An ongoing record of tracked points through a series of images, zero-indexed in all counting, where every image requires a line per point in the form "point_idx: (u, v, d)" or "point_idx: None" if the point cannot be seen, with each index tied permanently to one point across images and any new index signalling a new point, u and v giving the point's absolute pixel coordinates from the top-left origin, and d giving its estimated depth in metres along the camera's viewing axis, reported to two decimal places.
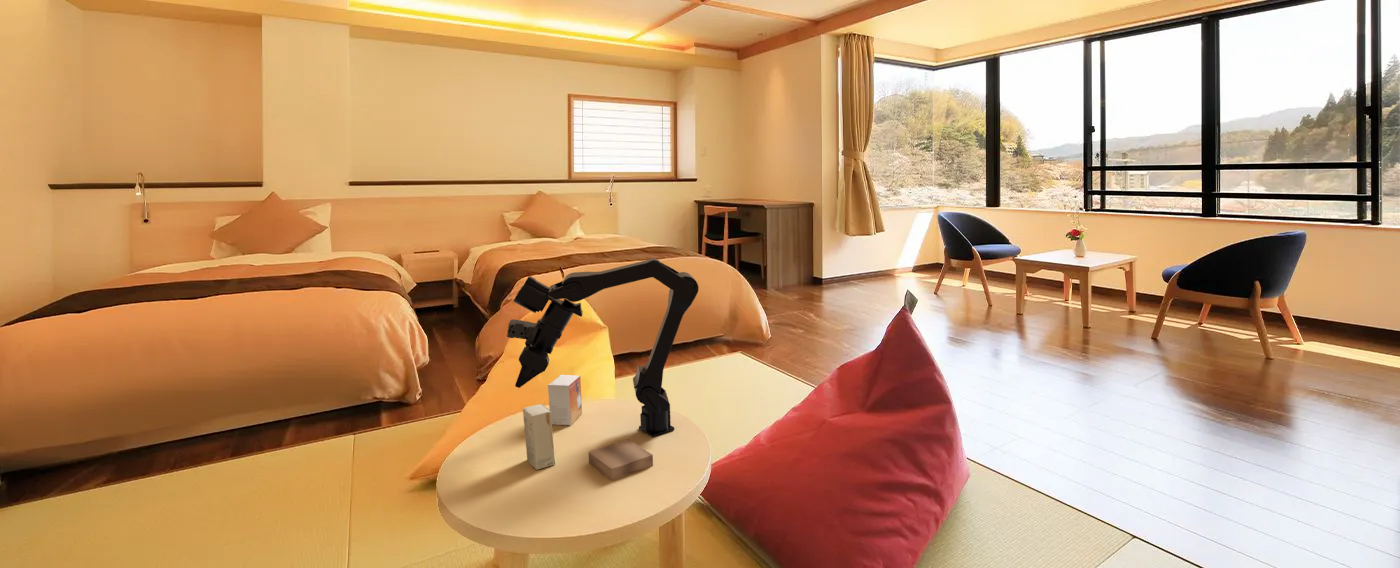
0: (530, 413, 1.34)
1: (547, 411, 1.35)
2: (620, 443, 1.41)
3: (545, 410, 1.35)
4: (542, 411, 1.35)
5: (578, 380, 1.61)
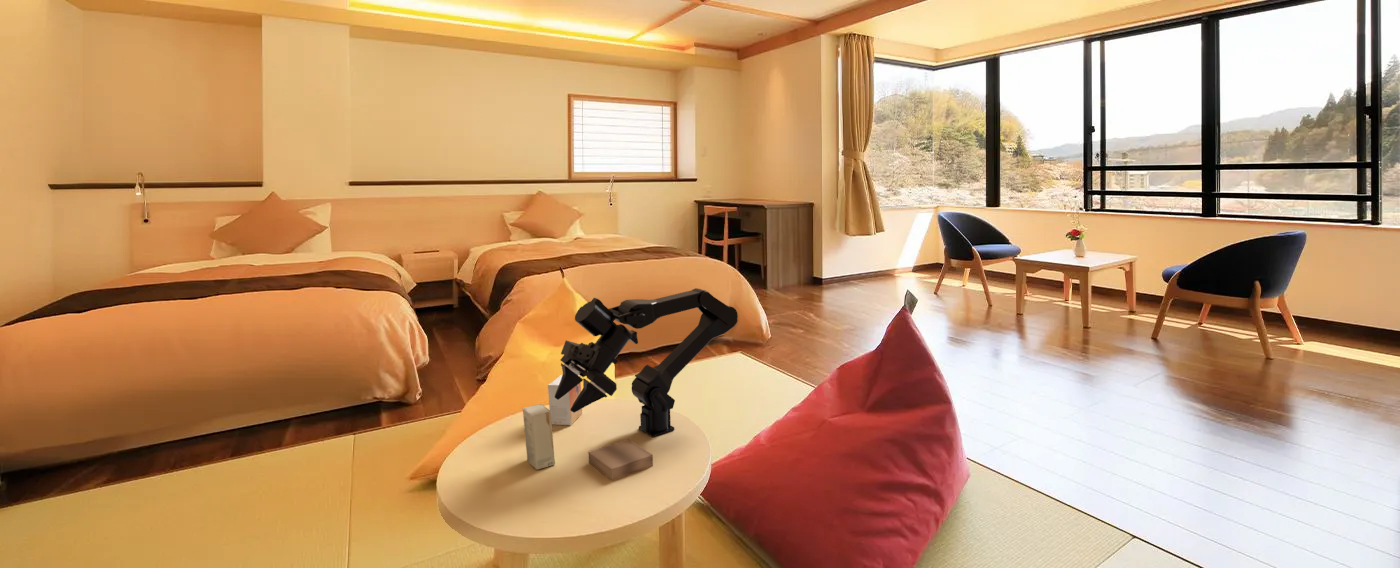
0: (530, 413, 1.34)
1: (547, 411, 1.35)
2: (620, 443, 1.41)
3: (545, 410, 1.35)
4: (542, 411, 1.35)
5: None
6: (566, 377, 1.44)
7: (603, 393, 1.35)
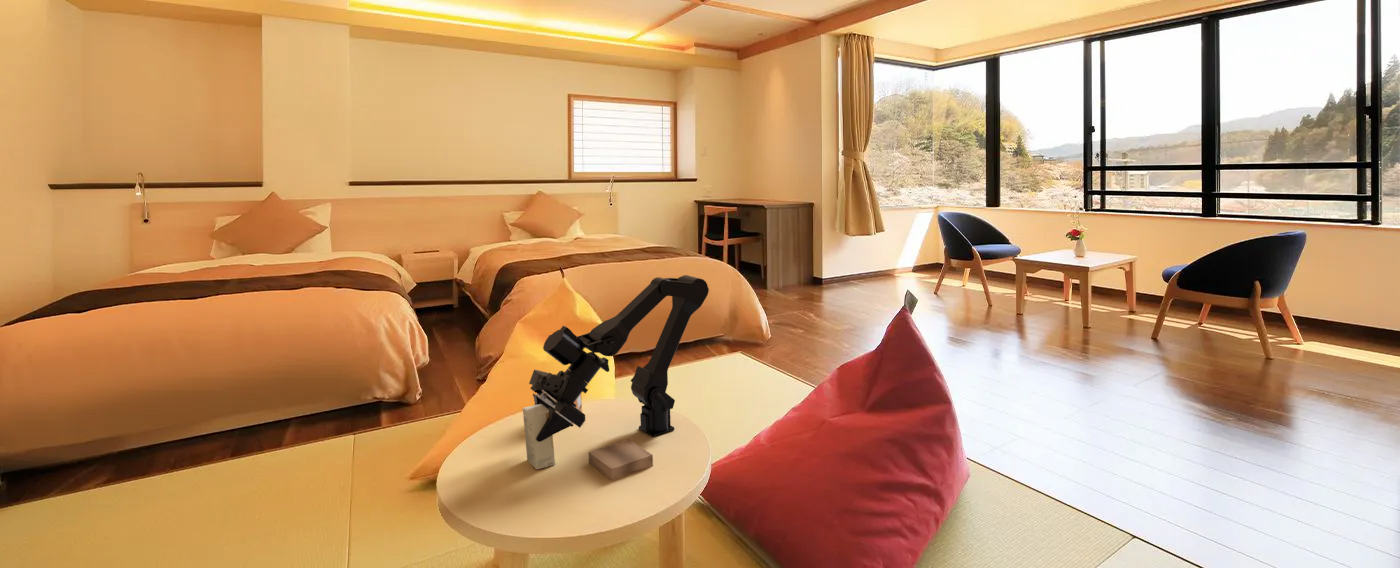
0: (530, 413, 1.34)
1: (547, 411, 1.35)
2: (620, 443, 1.41)
3: (545, 410, 1.35)
4: (542, 411, 1.35)
5: None
6: None
7: (569, 422, 1.34)
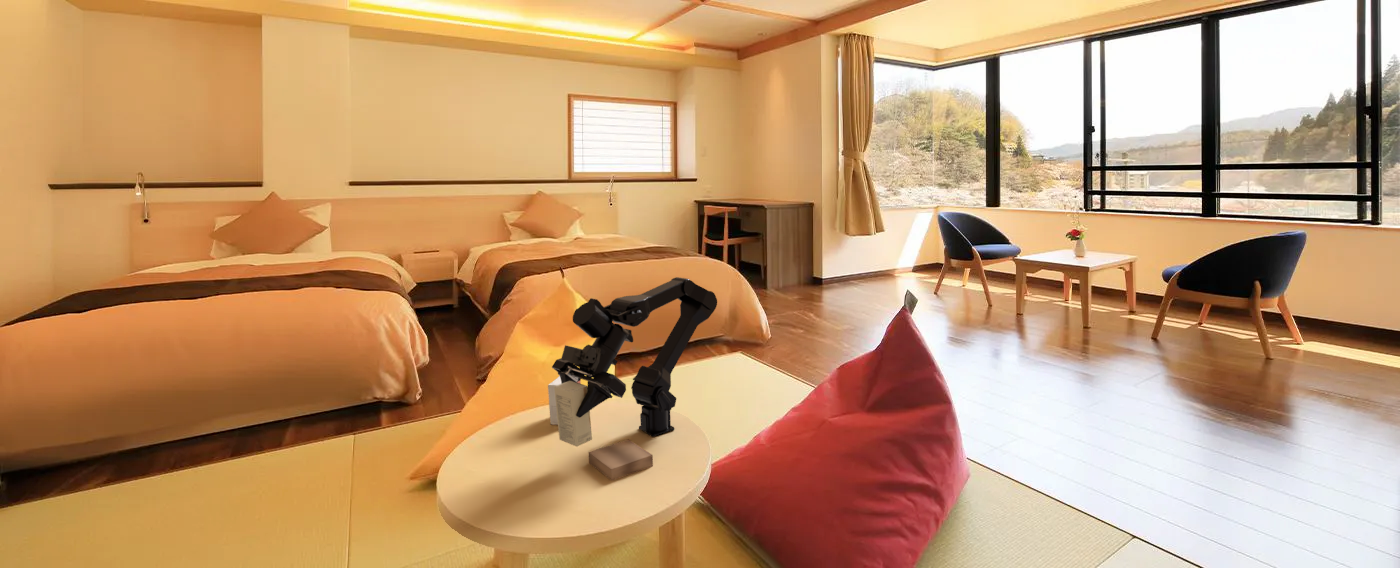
0: (567, 389, 1.31)
1: (583, 386, 1.32)
2: (620, 443, 1.41)
3: (580, 385, 1.33)
4: (578, 386, 1.32)
5: None
6: None
7: (609, 394, 1.32)
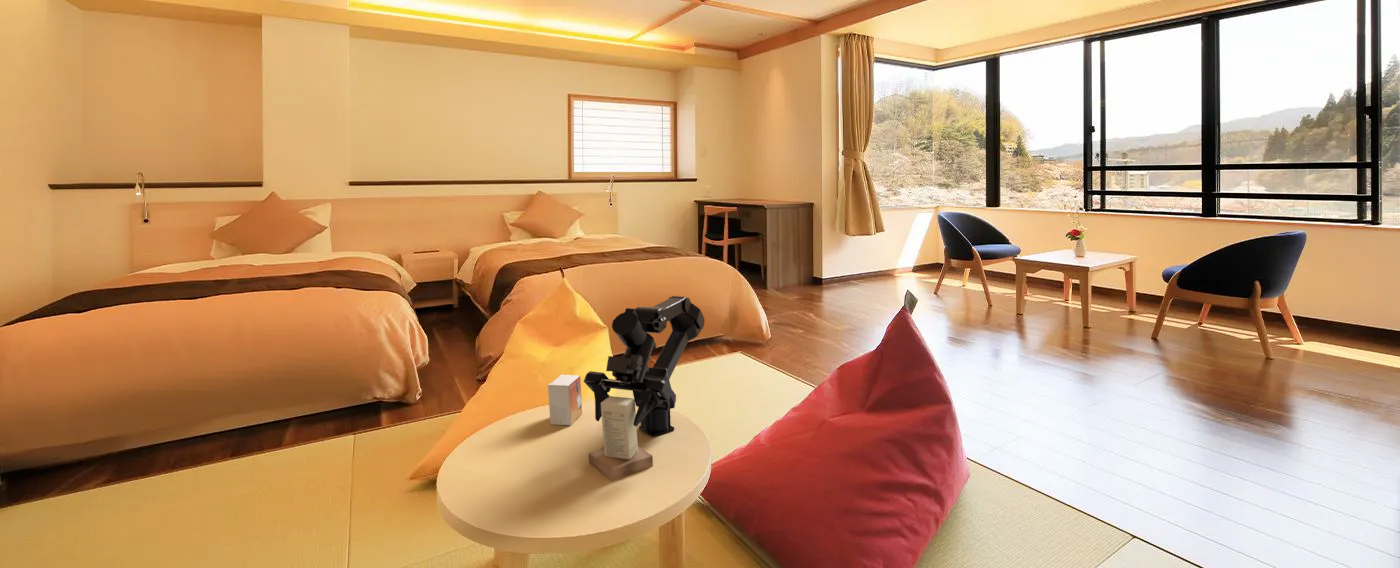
0: (619, 404, 1.32)
1: (631, 399, 1.35)
2: None
3: (628, 399, 1.35)
4: (627, 400, 1.34)
5: (578, 380, 1.61)
6: (601, 396, 1.37)
7: (660, 400, 1.36)
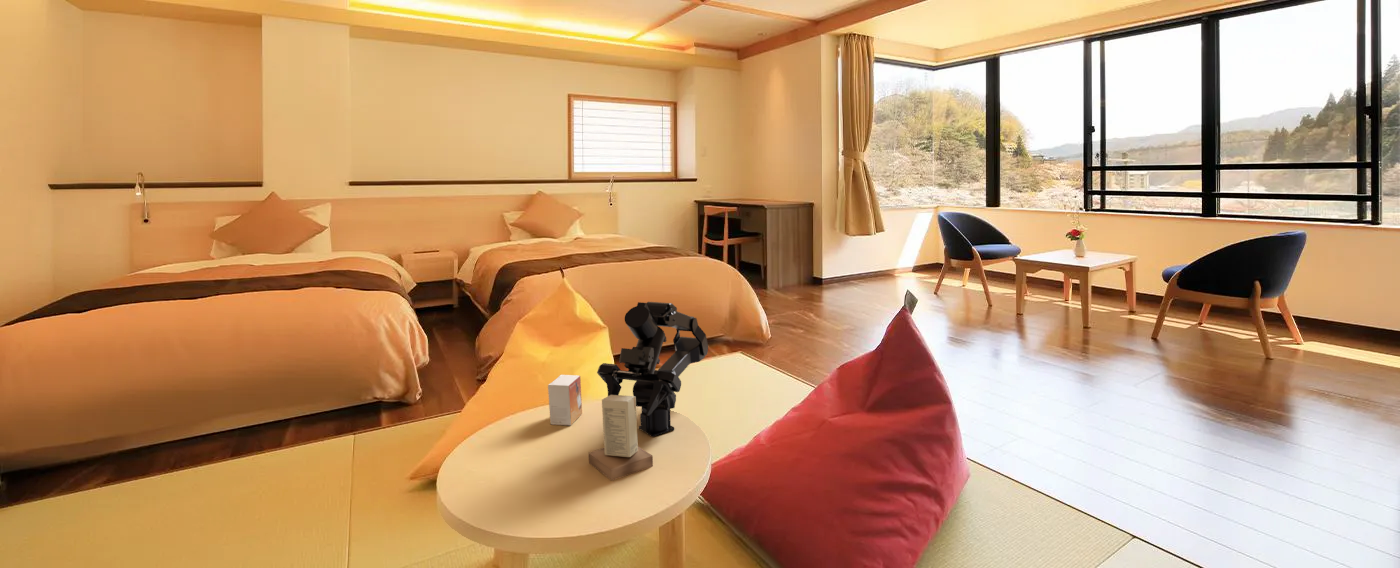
0: (620, 400, 1.33)
1: (632, 396, 1.36)
2: None
3: (628, 396, 1.36)
4: (628, 397, 1.35)
5: (578, 380, 1.61)
6: (613, 387, 1.43)
7: (672, 390, 1.41)
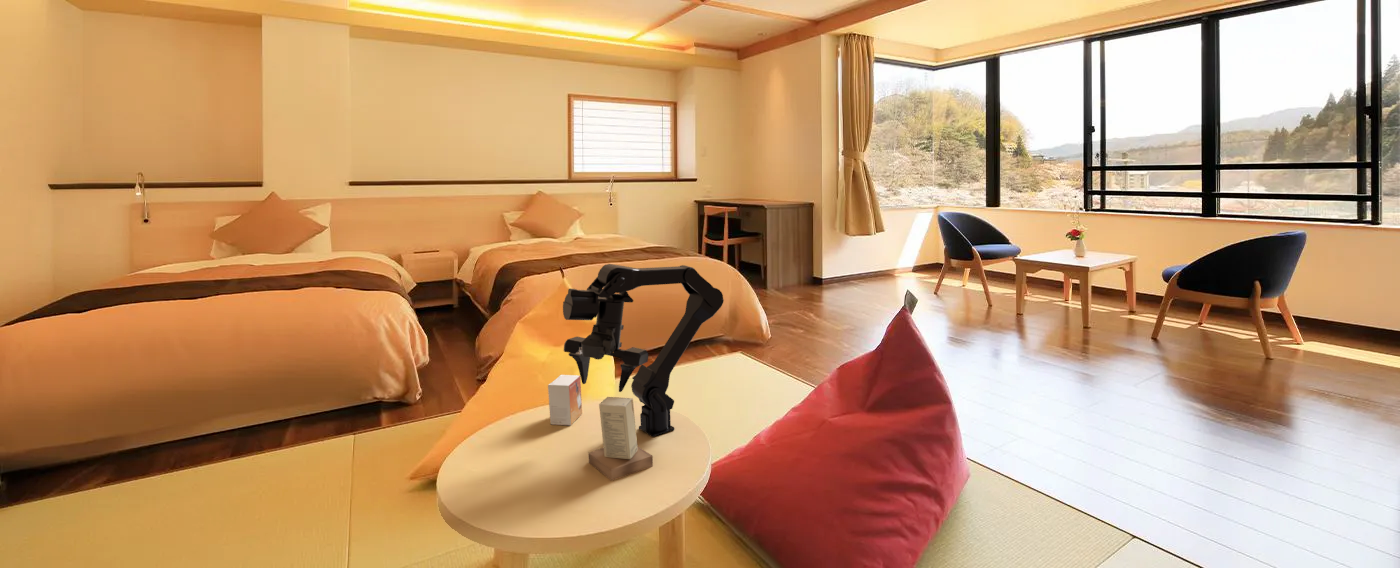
0: (618, 405, 1.31)
1: (629, 399, 1.34)
2: None
3: (626, 399, 1.34)
4: (625, 400, 1.34)
5: (578, 380, 1.61)
6: (583, 363, 1.45)
7: None
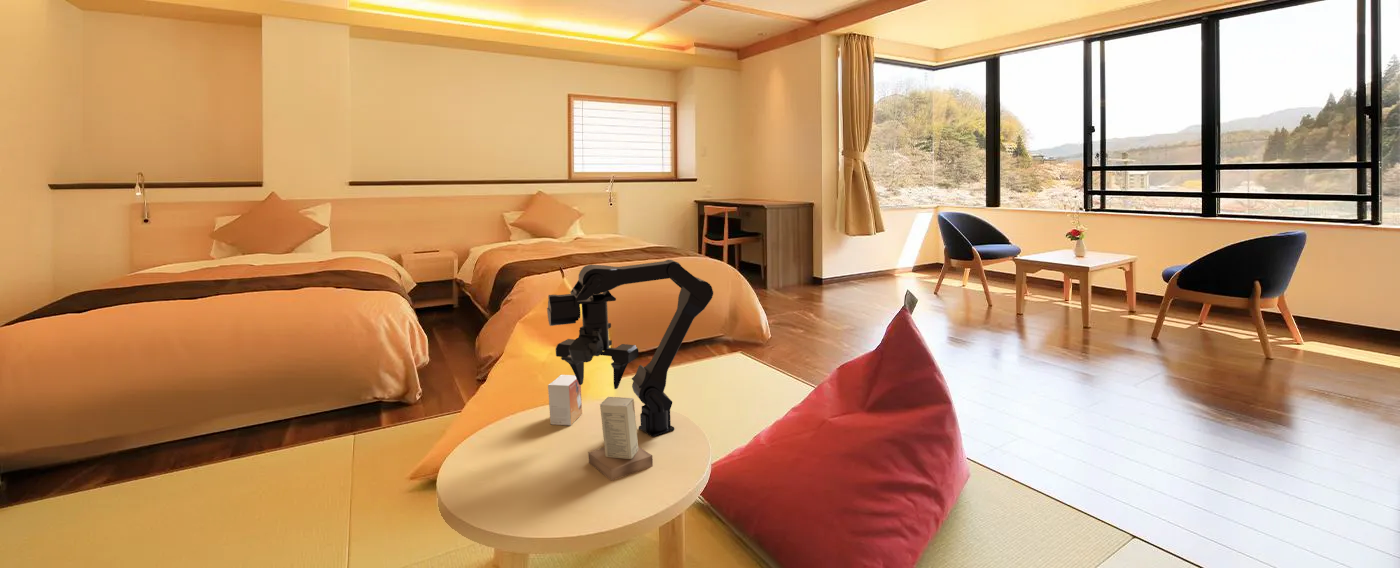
0: (619, 405, 1.31)
1: (630, 399, 1.34)
2: None
3: (627, 399, 1.34)
4: (626, 400, 1.33)
5: None
6: (576, 365, 1.47)
7: None
